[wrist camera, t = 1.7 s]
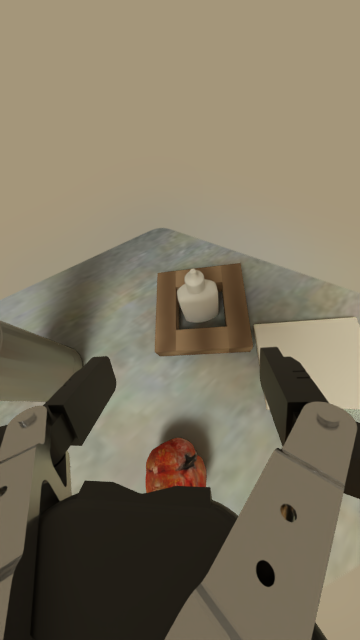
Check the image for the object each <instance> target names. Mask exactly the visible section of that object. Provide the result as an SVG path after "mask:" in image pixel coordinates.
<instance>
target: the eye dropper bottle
mask: <svg viewBox="0 0 360 640" xmlns="http://www.w3.org/2000/svg"><path fill="white" fill-rule="evenodd" d="M177 296H178V301H179V304H180V307H181V309H182V312H183V314H184V317H185V319H186V320H187V321H188V322H194V323H199V322H205V321H208V320H211V319H213V318H214V317H216V316H217V315H218V312H219V311H218V290H217V286H216V283H215V282H213V281H211V280H206V279H204V275H203V273H202V272H200V271H198V270H195V269H191V270H190V271H189V272H188V273H187V274H186V275H185V284H184V285H182V286H181V287H180V288H179V289H178V290H177Z"/></svg>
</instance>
